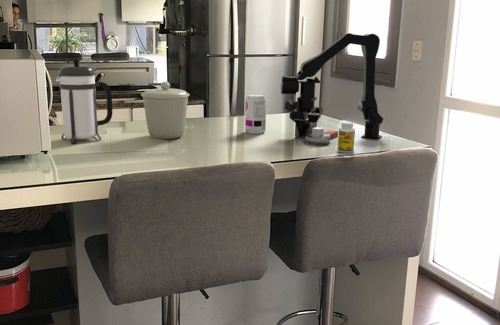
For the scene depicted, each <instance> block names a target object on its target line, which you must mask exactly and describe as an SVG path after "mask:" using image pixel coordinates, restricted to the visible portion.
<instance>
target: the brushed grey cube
mask: <svg viewBox="0 0 500 325" xmlns="http://www.w3.org/2000/svg"><path fill="white" fill-rule="evenodd" d="M294 125H295V126H294V138H295V139H303V140H305V139H306V135H308V134H312V128H315V127H318V122H316V121H308V122H307V125H306V128H305V131H304V133H303V136H302V137H300V136H299V133H298V129H297V126H296V123H295V122H294Z"/></svg>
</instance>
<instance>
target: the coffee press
mask: <svg viewBox="0 0 500 325" xmlns="http://www.w3.org/2000/svg"><path fill="white" fill-rule="evenodd" d="M72 62H73V64H70V65H69V64H68V65H64V66H62V67H61V68H60V69H59V72H58V73H57V77H56V79H55V82H58V83H59V90H60V98H61V100H60V101H61V115H62V125H63V126H62V127H63V129H62V130H63V133H62V135H61V136H60V137H61V140H62V141H64V140H66V139H70V144H71V145H76V144H77V142H78V141H79V140H84V139H94V140H95V141H96V142H99V141H101V140H102V137H101V136H100V134H99V131H98V126H103V125H106V124H108V123H109V122H110V121H111V120H112V117H113V98H112V90H111V88H110V86H109V84H107V83H105V82H101V81H98V82H97V81H96V71H95V69H94V68H93V67H91V66H89V65H86V64H80V58H78V57H75V58H73V59H72ZM95 81H96V82H95ZM96 87H99V88H100V87H101V88H103V89H104V91H105V96H106V117H105V118H104V119H101V120H98V114H97V112H98V111H97V96H96V95H97V94H96ZM64 136H65V138H64ZM96 136H97V137H98V138H97V137H96Z"/></svg>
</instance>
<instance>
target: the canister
mask: <svg viewBox="0 0 500 325" xmlns="http://www.w3.org/2000/svg"><path fill="white" fill-rule="evenodd" d="M170 87H171V83H170V82H168V81H162V82H161V83H160V88H153V89H147V90H145V91H144V92H142V93H141V94H140V96H141V97H142V99H143V106H144V112H145V115H144V116H145V120H146V121H145V122H146V126H147V130H148V134H149V135H150V137H151V138H154V139H158V140H174V139H178V138H181V137H182V136H183V134H184V132H185V128H186V121H187V111H188V110H187V109H188V100H189V97H190V95H191V94H190V93H189V92H187V91H186V90H183V89H179V88H170Z"/></svg>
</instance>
